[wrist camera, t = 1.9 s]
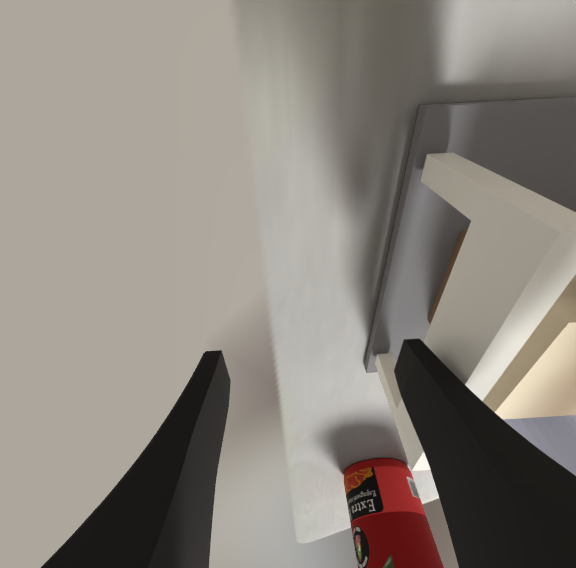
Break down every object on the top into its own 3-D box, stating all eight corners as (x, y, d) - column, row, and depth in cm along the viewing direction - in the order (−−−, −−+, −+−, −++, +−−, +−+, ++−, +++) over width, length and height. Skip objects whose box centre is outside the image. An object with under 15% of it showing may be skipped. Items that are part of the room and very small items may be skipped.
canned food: (358, 454, 30) (393, 610, 22) (422, 459, 32) (478, 606, 23) (331, 479, 35) (351, 617, 26) (388, 483, 36) (425, 613, 28)
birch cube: (588, 222, 13) (766, 310, 8) (526, 314, 17) (626, 411, 12) (462, 229, 13) (568, 322, 8) (427, 320, 17) (487, 420, 12)
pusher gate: (453, 152, 11) (609, 228, 6) (389, 362, 19) (432, 469, 14) (427, 153, 11) (560, 231, 6) (374, 363, 19) (411, 470, 14)
